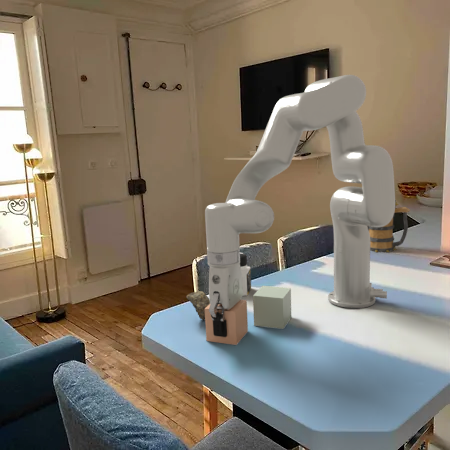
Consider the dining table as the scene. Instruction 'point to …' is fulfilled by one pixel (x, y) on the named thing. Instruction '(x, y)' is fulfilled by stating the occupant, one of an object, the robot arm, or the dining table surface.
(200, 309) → the rock
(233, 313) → the salmon pink box
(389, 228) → the mug
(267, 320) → the sage green cube
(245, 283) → the medicine bottle
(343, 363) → the dining table surface
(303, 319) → the dining table surface
